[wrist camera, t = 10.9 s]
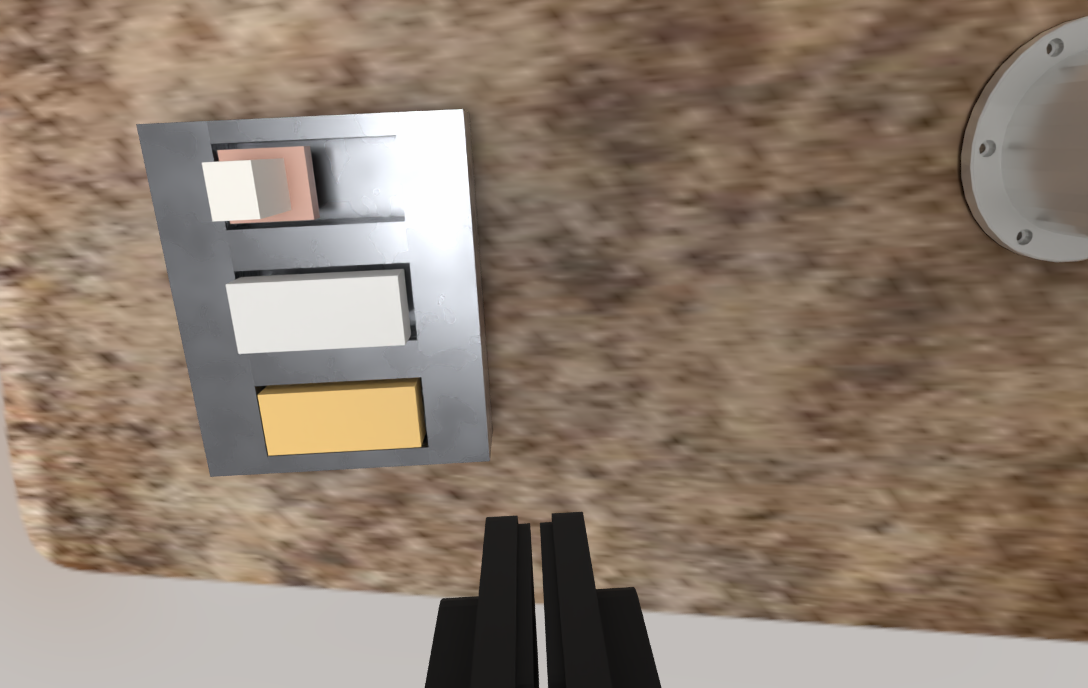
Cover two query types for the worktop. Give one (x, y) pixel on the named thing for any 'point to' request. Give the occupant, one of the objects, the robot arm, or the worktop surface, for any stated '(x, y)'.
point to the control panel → (323, 247)
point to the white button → (319, 311)
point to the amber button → (342, 416)
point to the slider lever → (262, 185)
